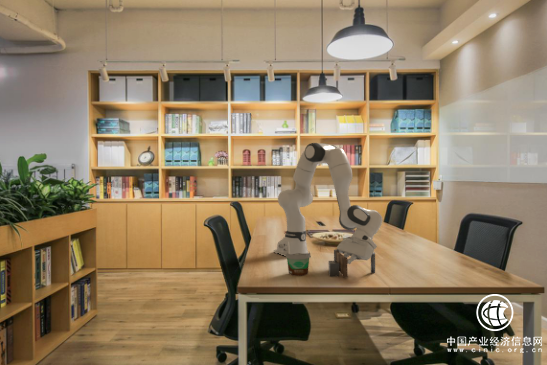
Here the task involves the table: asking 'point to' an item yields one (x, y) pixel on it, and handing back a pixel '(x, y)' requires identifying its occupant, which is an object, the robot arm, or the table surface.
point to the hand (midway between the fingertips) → (345, 262)
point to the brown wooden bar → (342, 263)
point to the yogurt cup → (298, 263)
